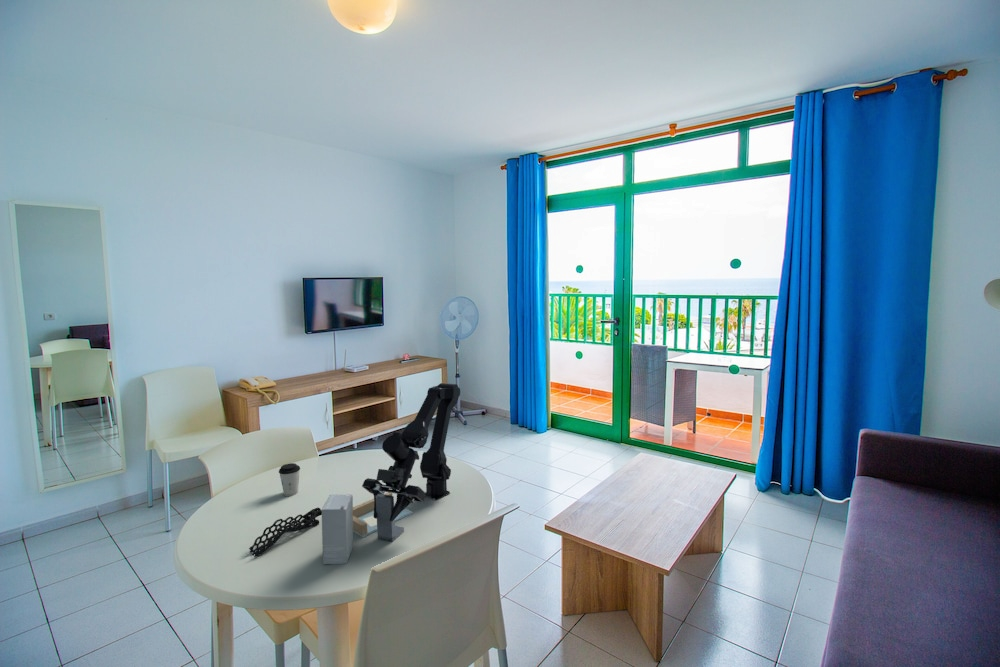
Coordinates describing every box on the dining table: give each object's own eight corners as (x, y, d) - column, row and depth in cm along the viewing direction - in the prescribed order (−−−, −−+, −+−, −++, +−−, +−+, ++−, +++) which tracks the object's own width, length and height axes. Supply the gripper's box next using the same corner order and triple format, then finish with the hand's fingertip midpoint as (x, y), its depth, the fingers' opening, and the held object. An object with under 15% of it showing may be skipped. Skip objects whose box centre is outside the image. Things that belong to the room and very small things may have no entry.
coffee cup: (305, 489, 166) (303, 462, 165) (295, 498, 159) (293, 470, 158) (287, 488, 167) (285, 461, 166) (276, 497, 160) (274, 469, 159)
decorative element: (258, 560, 124) (257, 539, 124) (247, 555, 127) (245, 534, 126) (326, 522, 144) (325, 504, 143) (315, 518, 146) (314, 500, 145)
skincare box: (330, 547, 129) (327, 493, 127) (356, 546, 130) (353, 492, 128) (321, 566, 121) (317, 508, 119) (349, 564, 121) (346, 507, 119)
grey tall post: (389, 528, 139) (387, 486, 137) (404, 531, 137) (402, 489, 135) (377, 538, 133) (375, 495, 132) (392, 542, 131) (390, 498, 130)
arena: (389, 502, 155) (389, 491, 155) (412, 513, 147) (411, 502, 147) (340, 523, 142) (340, 512, 141) (362, 537, 134) (362, 525, 133)
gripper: (364, 452, 137) (341, 504, 128) (418, 459, 131) (398, 515, 122) (381, 467, 145) (360, 517, 136) (433, 475, 139) (415, 528, 130)
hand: (382, 519), depth 131 cm, fingers closed on grey tall post, 5 cm apart
